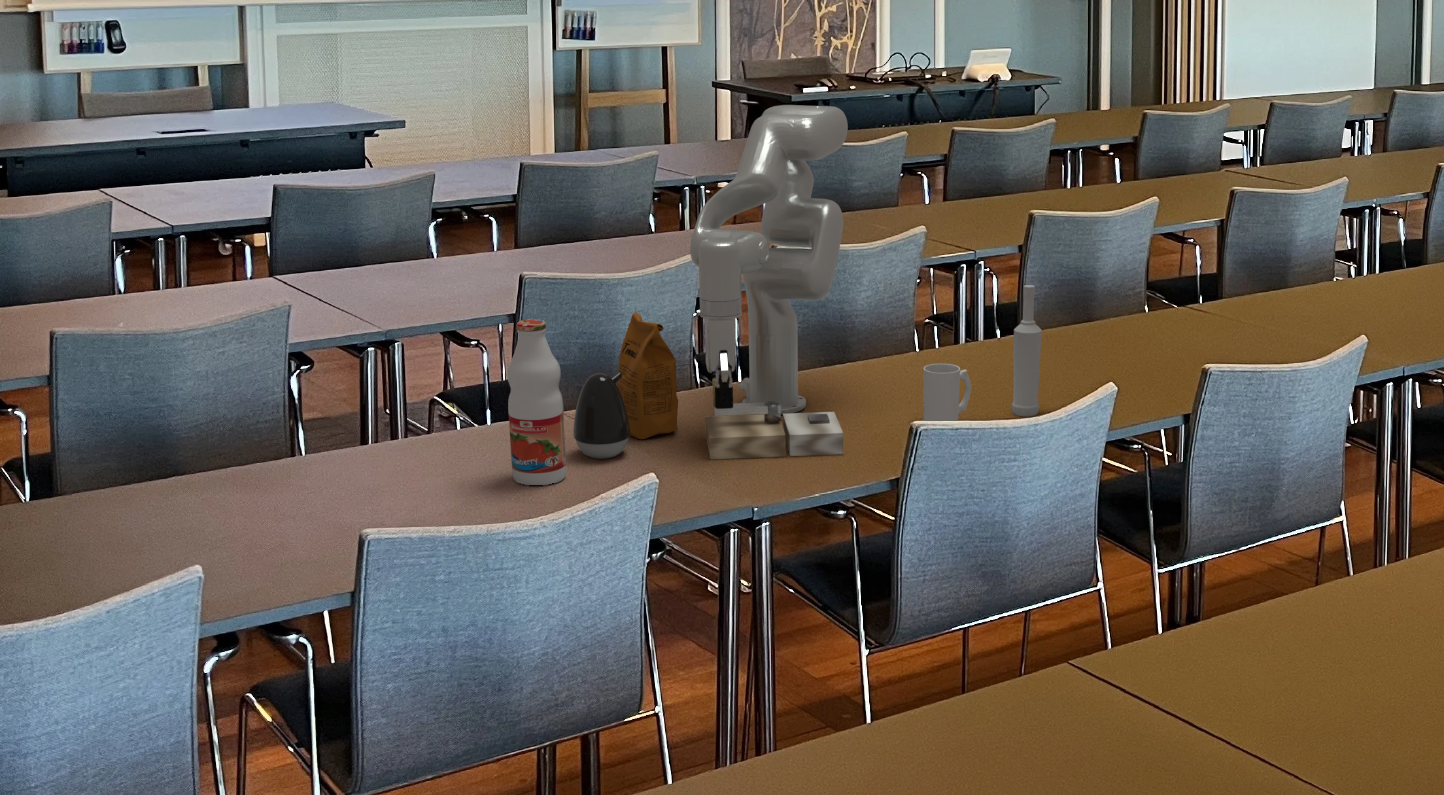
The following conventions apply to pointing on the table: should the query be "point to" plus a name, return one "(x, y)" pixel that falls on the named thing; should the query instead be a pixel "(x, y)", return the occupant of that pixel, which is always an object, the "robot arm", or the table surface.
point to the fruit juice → (535, 409)
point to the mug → (944, 392)
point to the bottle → (1026, 359)
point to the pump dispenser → (601, 418)
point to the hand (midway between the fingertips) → (722, 401)
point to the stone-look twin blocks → (773, 436)
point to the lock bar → (751, 409)
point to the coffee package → (648, 380)
